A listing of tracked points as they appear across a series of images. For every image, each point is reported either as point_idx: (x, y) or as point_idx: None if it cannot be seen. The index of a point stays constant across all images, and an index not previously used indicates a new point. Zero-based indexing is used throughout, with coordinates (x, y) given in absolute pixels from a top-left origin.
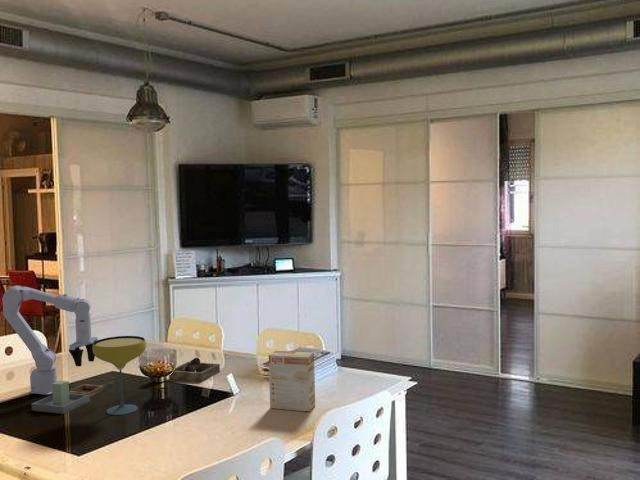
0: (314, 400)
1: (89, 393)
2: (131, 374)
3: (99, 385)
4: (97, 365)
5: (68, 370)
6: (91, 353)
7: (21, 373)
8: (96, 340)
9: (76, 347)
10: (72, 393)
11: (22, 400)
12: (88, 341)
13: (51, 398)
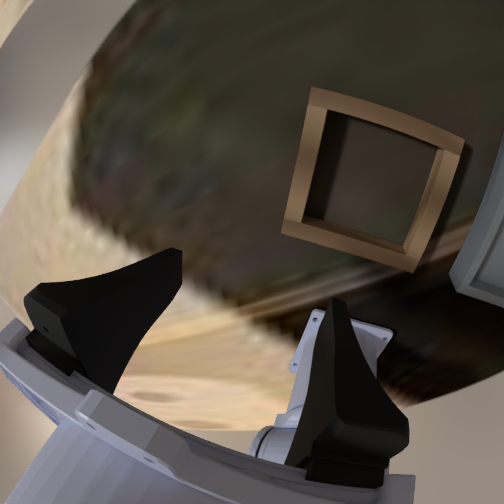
0: None
1: (453, 134)
2: (81, 107)
3: (305, 128)
4: (61, 276)
5: None
6: (140, 302)
7: (178, 412)
8: (14, 339)
9: (334, 487)
10: (494, 217)
11: (428, 375)
12: (156, 477)
13: (498, 291)
